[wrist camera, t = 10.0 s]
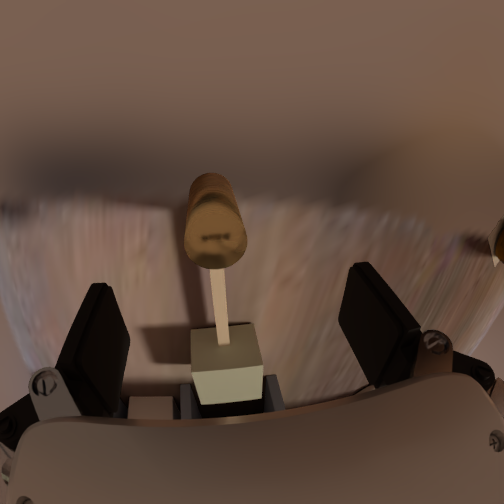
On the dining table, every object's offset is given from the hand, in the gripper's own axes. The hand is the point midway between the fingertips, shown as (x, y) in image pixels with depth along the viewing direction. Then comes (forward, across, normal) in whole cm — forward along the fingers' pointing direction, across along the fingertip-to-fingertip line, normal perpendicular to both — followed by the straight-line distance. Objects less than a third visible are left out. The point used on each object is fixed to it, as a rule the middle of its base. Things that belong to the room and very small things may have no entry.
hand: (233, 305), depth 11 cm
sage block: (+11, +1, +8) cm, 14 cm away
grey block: (+12, +11, +28) cm, 32 cm away
